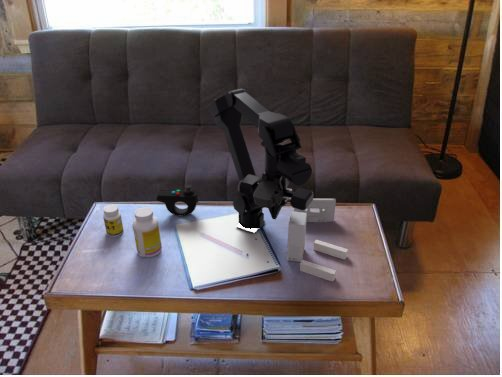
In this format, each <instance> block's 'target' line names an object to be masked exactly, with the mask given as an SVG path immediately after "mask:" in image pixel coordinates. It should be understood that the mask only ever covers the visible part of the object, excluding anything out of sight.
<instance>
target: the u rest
mask: <svg viewBox="0 0 502 377" xmlns="http://www.w3.org/2000/svg"><path fill="white" fill-rule="evenodd" d="M312 250H314V251H317V252H319V253H323V254H324V255H325V254H326V255H328V256H332V257H334V258H338V259H341V260H344V261H345V260H346V259H347V258H348V252H349V249H348V248H345V247H341V246H339V245H335V244H331V243H329V242H325V241H321V240H319V239H315V241H314V242H313V248H312ZM299 264H300V265H299V272H300V271H301V272H303V273H306V274H308V275H311V276H315V277H318V278H320V279H323V280H326V281H330V282H334V281H335V279H336V274H337V270H335V269H331V268H329V267H326V266H323V265H319V264H317V263H313V262H310V261H308V260H304V259H302V262H300V263H299Z"/></svg>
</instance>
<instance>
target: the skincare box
mask: <svg viewBox="0 0 502 377" xmlns="http://www.w3.org/2000/svg"><path fill="white" fill-rule="evenodd" d="M306 221H307V213H303V212H294V210H293V211H291V213H290V216H289V222H288V229H287V230H288V231H287V232H288V233H287V249H286V250H287V251H286V261H290V262H300V263H301V262H302V260H304V251H305V244H306V234H307V233H306V232H307V222H306Z"/></svg>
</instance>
